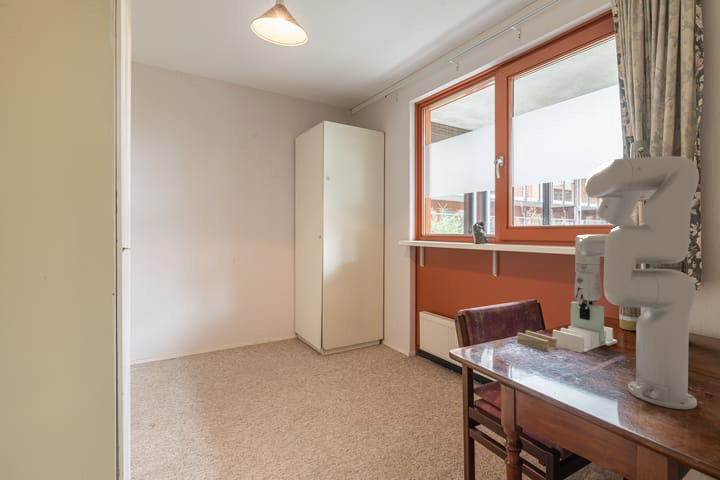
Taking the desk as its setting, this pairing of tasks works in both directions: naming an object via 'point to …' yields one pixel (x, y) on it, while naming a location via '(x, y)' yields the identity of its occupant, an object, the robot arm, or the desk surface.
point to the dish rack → (582, 338)
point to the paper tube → (629, 317)
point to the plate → (593, 324)
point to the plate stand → (537, 340)
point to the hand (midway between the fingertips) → (586, 318)
